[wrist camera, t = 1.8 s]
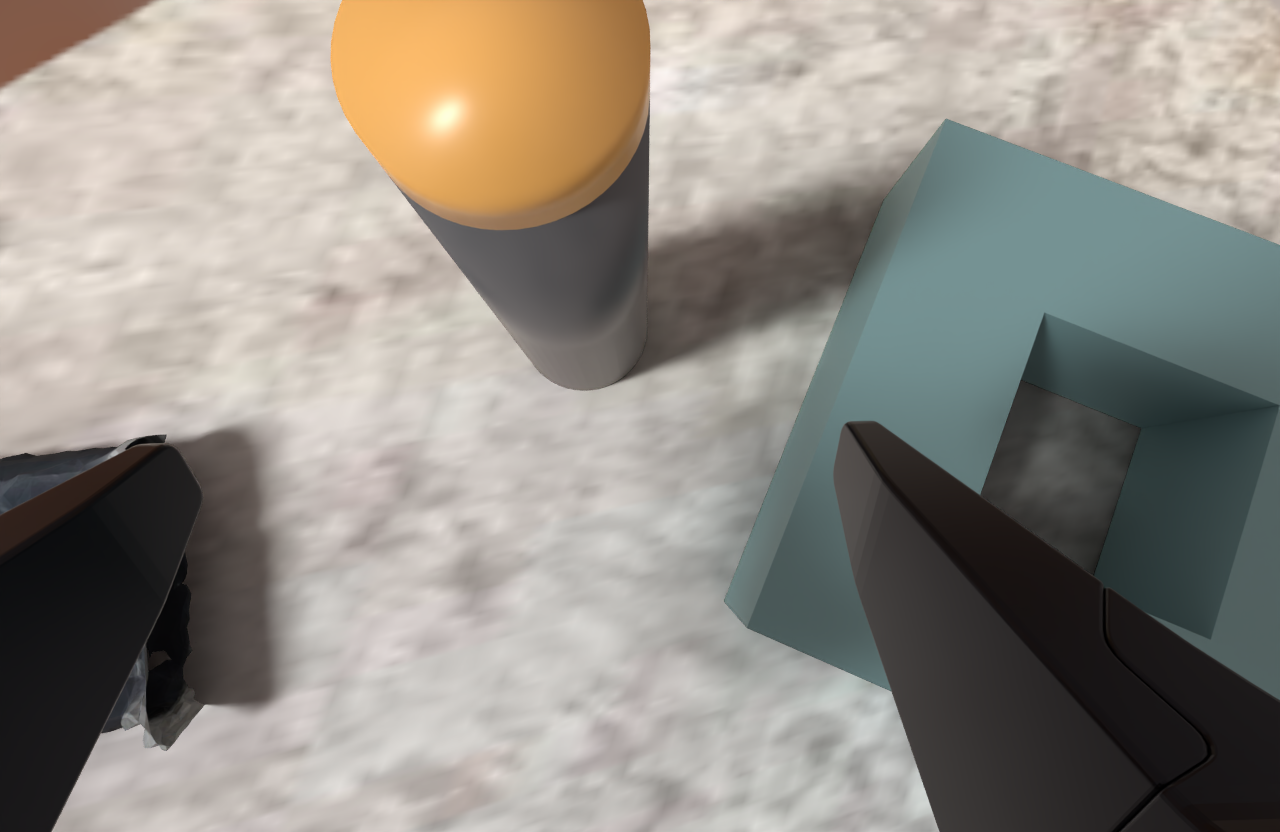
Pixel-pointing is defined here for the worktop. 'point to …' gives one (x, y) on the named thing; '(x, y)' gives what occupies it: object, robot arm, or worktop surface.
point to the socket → (1058, 362)
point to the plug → (519, 158)
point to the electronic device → (162, 690)
